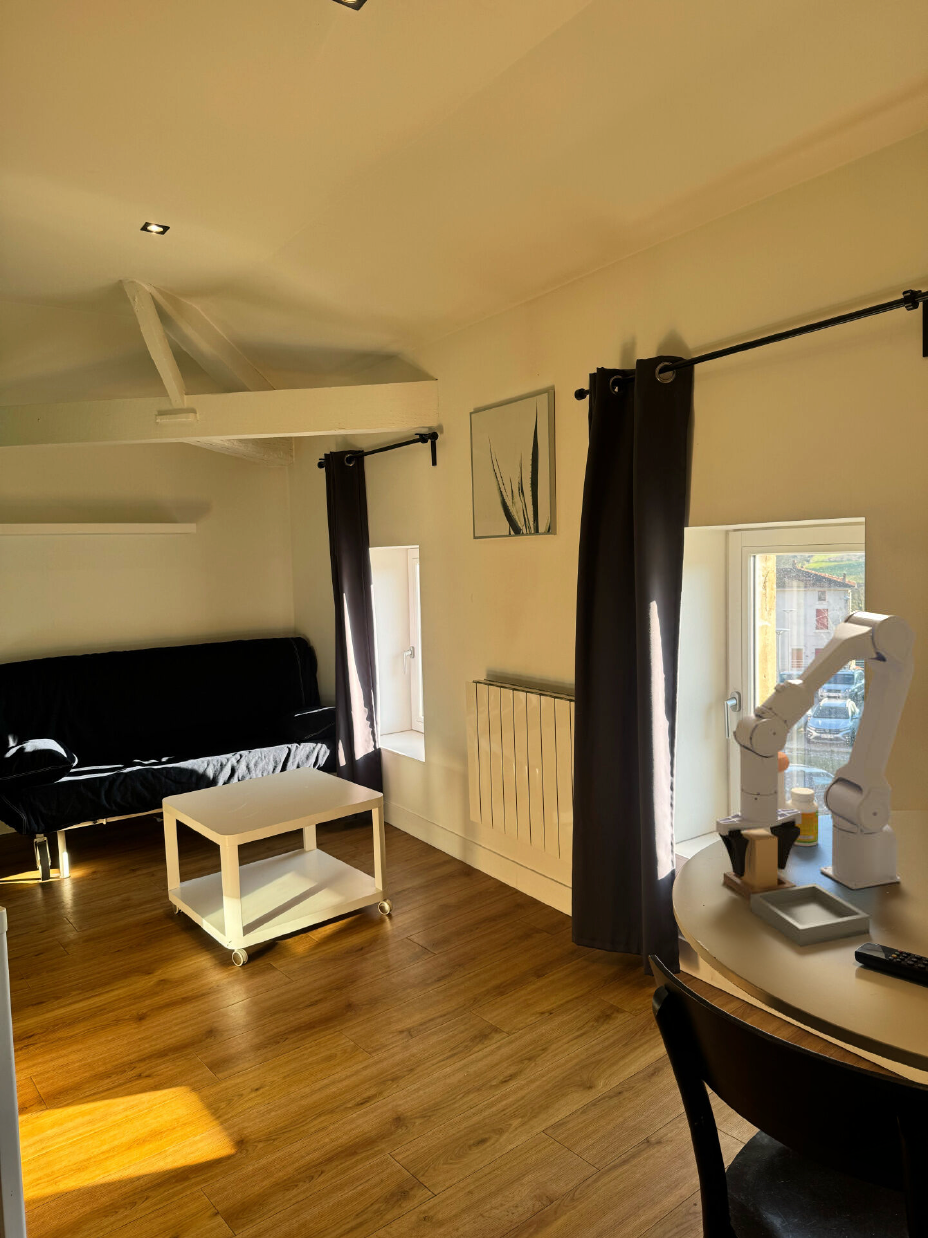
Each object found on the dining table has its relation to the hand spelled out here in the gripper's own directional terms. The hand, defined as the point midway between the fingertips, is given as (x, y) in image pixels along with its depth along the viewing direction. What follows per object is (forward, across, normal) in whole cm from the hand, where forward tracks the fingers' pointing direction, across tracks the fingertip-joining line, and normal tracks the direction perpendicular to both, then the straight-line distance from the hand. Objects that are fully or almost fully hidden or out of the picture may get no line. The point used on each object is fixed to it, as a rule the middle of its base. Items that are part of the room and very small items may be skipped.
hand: (759, 870), depth 133 cm
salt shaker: (+3, -11, -13) cm, 17 cm away
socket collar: (+3, 0, 0) cm, 3 cm away
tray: (+3, 0, +12) cm, 12 cm away
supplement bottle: (+3, -19, -14) cm, 24 cm away
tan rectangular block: (+3, 0, 0) cm, 3 cm away
